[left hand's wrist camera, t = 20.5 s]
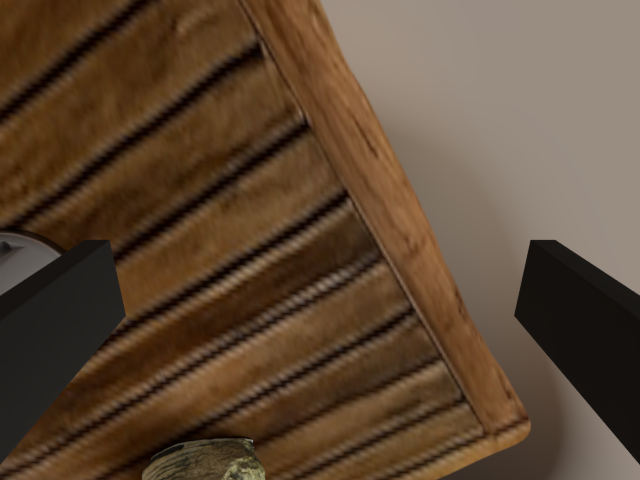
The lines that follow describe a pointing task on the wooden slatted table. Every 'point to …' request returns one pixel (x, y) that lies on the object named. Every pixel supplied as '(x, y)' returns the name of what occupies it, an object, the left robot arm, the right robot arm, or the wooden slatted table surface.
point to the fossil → (206, 461)
